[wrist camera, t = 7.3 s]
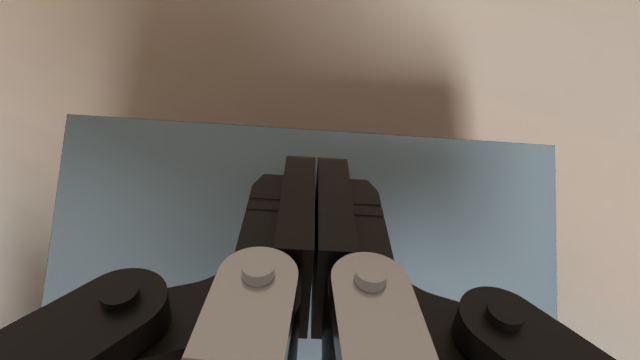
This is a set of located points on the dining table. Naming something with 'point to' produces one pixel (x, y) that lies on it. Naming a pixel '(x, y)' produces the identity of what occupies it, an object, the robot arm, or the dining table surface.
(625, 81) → the dining table surface
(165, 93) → the dining table surface
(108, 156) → the flat rectangular panel
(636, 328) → the dining table surface
